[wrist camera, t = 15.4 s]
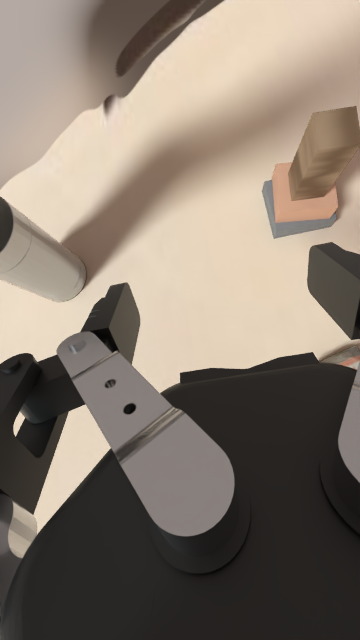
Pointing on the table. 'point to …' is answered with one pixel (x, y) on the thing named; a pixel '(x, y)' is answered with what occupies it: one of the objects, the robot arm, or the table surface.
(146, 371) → the table surface
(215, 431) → the robot arm
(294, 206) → the upper slab
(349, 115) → the brown block
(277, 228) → the lower slab
